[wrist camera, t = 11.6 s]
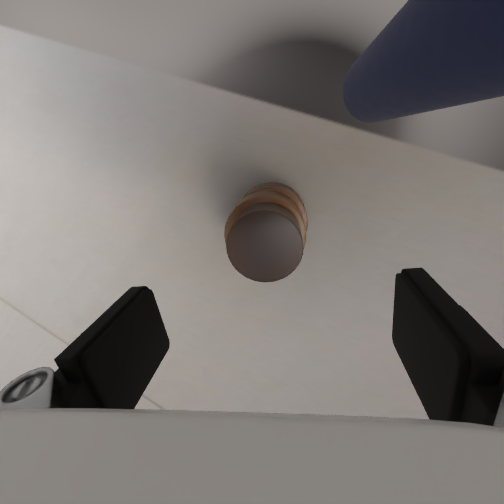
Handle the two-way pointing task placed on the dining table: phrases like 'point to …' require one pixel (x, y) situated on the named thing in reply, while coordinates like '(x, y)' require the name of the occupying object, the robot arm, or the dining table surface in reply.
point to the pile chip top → (266, 197)
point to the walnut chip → (265, 242)
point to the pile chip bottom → (285, 191)
